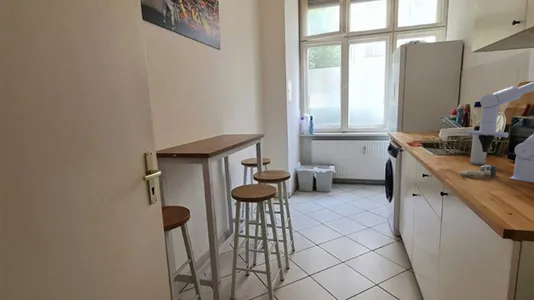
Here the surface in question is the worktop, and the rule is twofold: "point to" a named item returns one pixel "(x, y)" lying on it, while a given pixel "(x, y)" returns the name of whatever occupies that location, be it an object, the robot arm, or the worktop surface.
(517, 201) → the worktop surface
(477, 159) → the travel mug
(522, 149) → the robot arm
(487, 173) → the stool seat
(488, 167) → the hinged leg
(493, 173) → the block
